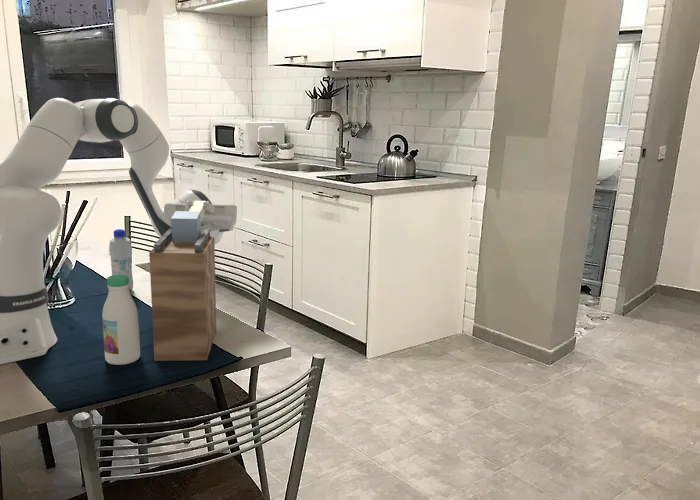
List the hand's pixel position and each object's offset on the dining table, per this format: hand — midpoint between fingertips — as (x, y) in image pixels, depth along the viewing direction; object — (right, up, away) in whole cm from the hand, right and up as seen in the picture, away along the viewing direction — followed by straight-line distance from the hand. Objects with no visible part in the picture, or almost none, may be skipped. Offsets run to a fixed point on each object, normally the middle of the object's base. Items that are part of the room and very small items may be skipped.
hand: (197, 203), depth 159 cm
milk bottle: (-11, -38, -23) cm, 46 cm away
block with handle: (+1, -6, -7) cm, 9 cm away
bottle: (-30, -26, +24) cm, 47 cm away
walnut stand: (+1, -36, -14) cm, 39 cm away
